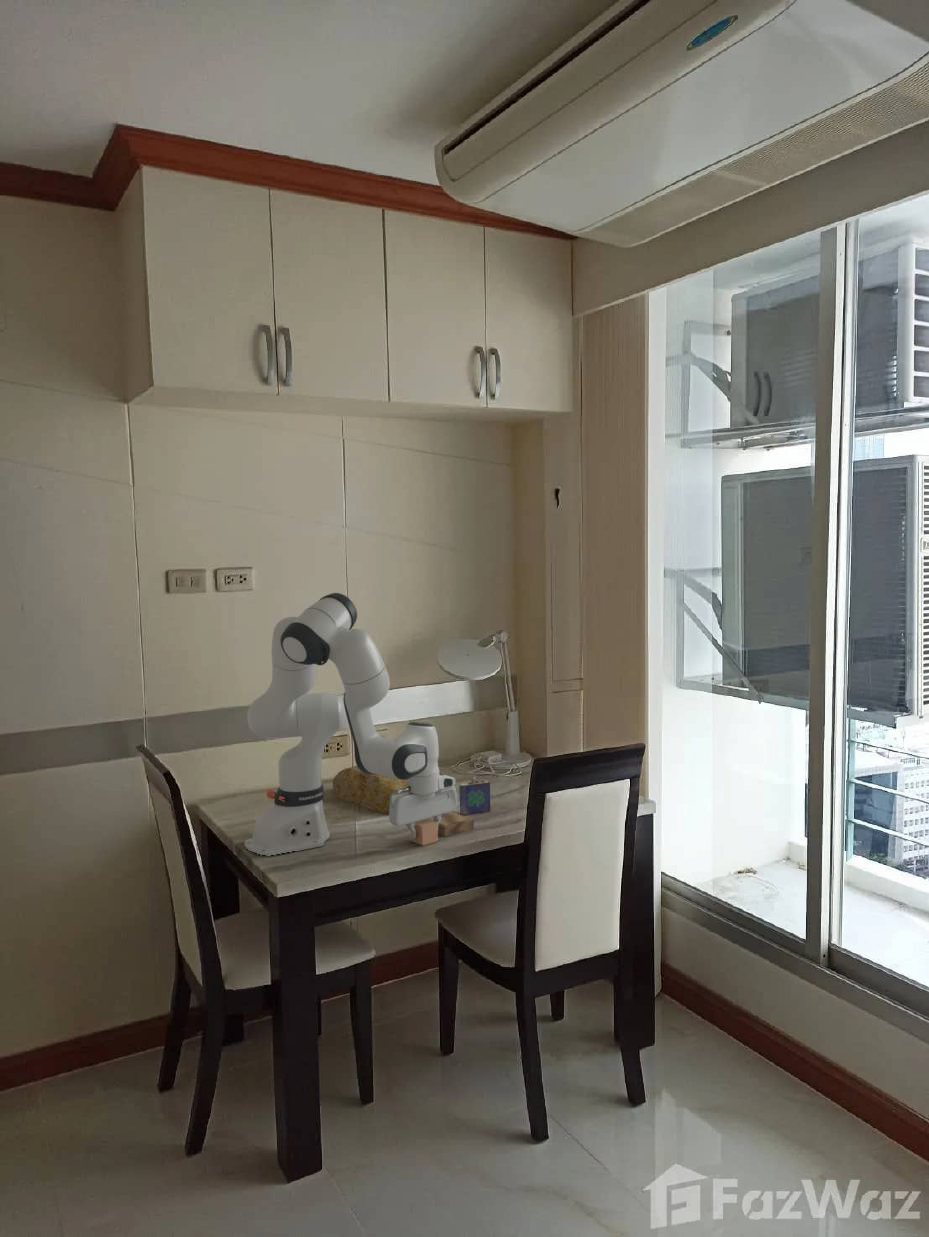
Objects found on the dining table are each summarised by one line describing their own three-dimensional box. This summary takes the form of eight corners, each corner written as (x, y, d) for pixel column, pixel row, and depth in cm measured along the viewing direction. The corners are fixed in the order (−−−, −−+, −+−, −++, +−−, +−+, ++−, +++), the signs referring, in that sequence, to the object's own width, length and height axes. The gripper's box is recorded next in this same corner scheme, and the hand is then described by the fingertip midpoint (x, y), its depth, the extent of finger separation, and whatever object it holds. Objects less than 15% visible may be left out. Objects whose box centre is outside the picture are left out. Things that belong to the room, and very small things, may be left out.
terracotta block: (422, 845, 239) (422, 826, 239) (411, 840, 243) (410, 822, 243) (438, 840, 243) (437, 822, 242) (426, 836, 246) (425, 818, 246)
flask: (461, 816, 263) (460, 779, 262) (458, 813, 266) (457, 777, 264) (491, 812, 266) (491, 776, 265) (488, 809, 268) (487, 773, 267)
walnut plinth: (445, 836, 246) (444, 827, 246) (422, 828, 254) (422, 818, 253) (473, 828, 252) (473, 818, 252) (450, 819, 260) (450, 810, 260)
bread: (425, 810, 270) (424, 776, 269) (396, 818, 263) (395, 784, 262) (352, 786, 296) (351, 756, 295) (324, 794, 289) (322, 763, 288)
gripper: (397, 793, 232) (399, 847, 234) (460, 777, 245) (461, 828, 247) (383, 788, 237) (384, 840, 239) (445, 773, 250) (446, 822, 252)
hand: (424, 834), depth 243 cm, fingers closed on terracotta block, 5 cm apart
